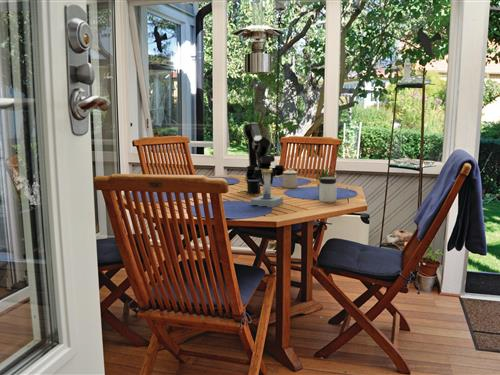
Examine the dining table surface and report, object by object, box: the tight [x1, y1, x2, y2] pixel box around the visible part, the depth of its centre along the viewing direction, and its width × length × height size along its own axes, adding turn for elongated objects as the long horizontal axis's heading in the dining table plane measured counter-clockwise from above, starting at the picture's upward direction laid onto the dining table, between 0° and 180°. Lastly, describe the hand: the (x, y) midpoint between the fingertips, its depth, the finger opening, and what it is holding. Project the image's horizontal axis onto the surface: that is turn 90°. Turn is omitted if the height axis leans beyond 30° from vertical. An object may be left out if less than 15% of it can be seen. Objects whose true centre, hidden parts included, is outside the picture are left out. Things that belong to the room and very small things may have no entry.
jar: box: [318, 176, 338, 203], centre depth 246 cm, size 9×8×12 cm
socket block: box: [250, 195, 284, 208], centre depth 239 cm, size 12×12×3 cm
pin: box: [261, 167, 272, 198], centre depth 237 cm, size 6×6×14 cm
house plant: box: [314, 166, 338, 194], centre depth 259 cm, size 14×14×16 cm
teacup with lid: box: [277, 167, 298, 189], centre depth 290 cm, size 12×9×12 cm
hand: (267, 184), depth 236 cm, fingers closed on pin, 4 cm apart
